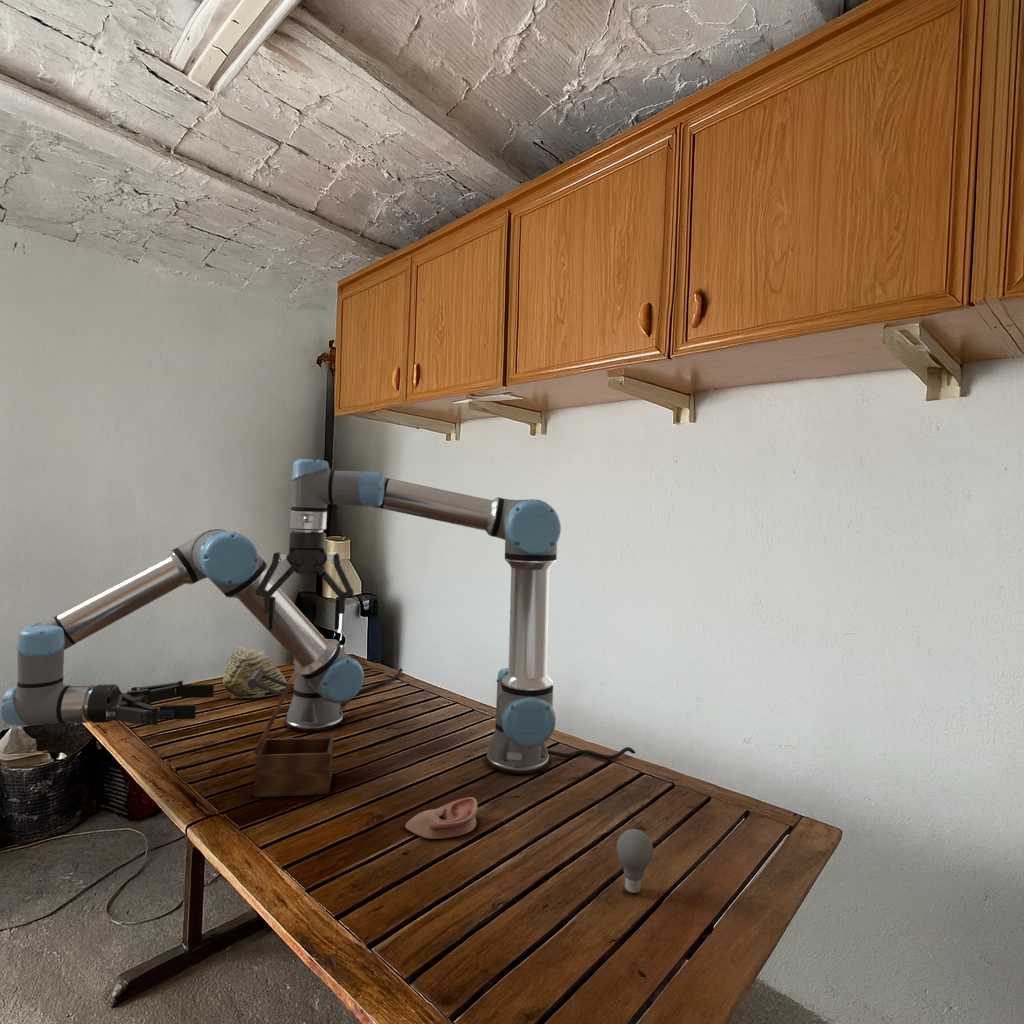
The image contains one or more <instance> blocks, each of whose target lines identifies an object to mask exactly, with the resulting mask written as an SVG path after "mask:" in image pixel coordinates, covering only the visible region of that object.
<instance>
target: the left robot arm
mask: <svg viewBox="0 0 1024 1024" xmlns="http://www.w3.org/2000/svg"><path fill="white" fill-rule="evenodd" d="M268 568H269V567H268V564H267V562H266V561H265V560H264V559H263V558H262V557H261V556H260V554H259V552H258V550H257V548H256V546H255V544H254V543H253V542H252V541H251V540H250V538H248V537H247V536H245V535H244V534H241V533H238V532H237V531H230V530H229V531H228V530H225V529H221V528H214V529H209V530H206V531H204V532H201V533H200V534H198V535H196V536H194V537H192V538H190V539H189V540H187V541H186V542H184V543H182V544H181V545H179V546H177V547H175V548H173V549H172V550H170V551H169V553H168V556H167V557H166V558H163V559H161V560H159V561H157V562H156V563H154V564H152V565H150V566H148V567H146V568H144V569H142V570H140V571H138V572H136V573H135V574H132V575H131V576H129V577H126V578H124V579H123V580H121V581H119V582H118V583H116V584H113V585H112V586H110V587H108V588H106V589H104V590H102V591H100V592H98V593H97V594H94V595H92V596H90V597H89V598H86V599H85V600H83V601H81V602H79V603H76V605H74V606H72V607H69V608H68V609H66V610H64V611H62V612H59V613H58V614H56V615H55V616H52V617H50V618H49V619H47V620H44V621H42V622H36V623H33V624H30V625H29V626H28V627H26V628H24V629H22V630H20V631H19V633H18V637H17V643H16V650H17V682H16V683H17V684H16V686H12V687H10V688H9V689H7V690H6V692H5V693H4V695H3V696H2V700H1V704H0V717H1V719H2V721H3V722H4V723H5V724H8V725H10V726H11V725H13V726H37V725H38V726H39V725H40V726H41V725H43V726H44V725H61V724H63V725H64V724H74V726H80V725H81V724H85V723H86V724H87V723H90V722H91V723H93V724H97V723H98V724H100V723H101V724H102V723H103V724H104V723H111V722H113V721H118V722H124V723H125V722H126V723H130V724H131V723H132V724H137V725H145V726H149V725H151V726H157V725H158V724H159V721H170V720H171V721H173V720H195V719H196V713H197V712H196V711H197V710H196V709H197V705H196V704H195V703H193V704H191V703H190V704H162V705H161V704H160V705H159V707H158V706H155V705H151V704H152V703H156V702H161V701H165V700H170V699H175V698H179V697H180V699H196V698H197V699H198V698H199V699H200V698H214V694H215V689H214V688H215V684H214V683H206V684H205V683H204V684H199V683H198V684H184V681H183V680H178V681H177V682H176V681H175V682H168V683H162V684H161V683H160V684H155V685H147V686H133V687H131V688H130V690H127V691H126V692H122V691H121V689H120V687H119V685H117V684H115V683H114V684H113V683H112V684H97V685H95V684H71V685H70V684H69V685H65V684H64V663H65V651H66V650H67V649H69V648H71V647H72V646H74V645H76V644H77V643H79V642H81V641H83V640H85V639H87V638H88V637H90V636H92V635H94V634H95V633H97V632H99V631H102V630H104V629H105V628H107V627H108V626H110V625H112V624H114V623H116V622H118V621H120V620H121V619H123V618H125V617H127V616H129V615H131V614H132V613H134V612H136V611H138V610H140V609H141V608H143V607H145V606H147V605H149V604H151V603H153V602H154V601H156V600H158V599H160V598H162V597H164V596H166V595H167V594H169V593H171V592H173V591H174V590H176V589H179V588H180V587H182V586H183V585H194V584H196V583H198V582H199V581H201V580H205V579H207V578H208V579H209V581H211V582H212V584H214V585H215V587H217V589H219V591H220V592H221V593H222V594H223V595H224V596H225V597H226V598H232V599H237V600H238V601H239V602H240V603H241V604H242V605H243V606H244V607H245V608H246V609H247V610H248V611H249V613H251V614H252V616H254V618H255V619H257V621H258V622H259V623H260V624H261V625H262V626H263V627H264V628H265V629H266V631H268V633H270V635H271V636H272V637H273V638H274V639H275V640H276V642H278V643H279V644H280V646H282V647H283V649H284V650H286V652H288V654H290V655H291V657H292V659H294V671H297V672H298V674H297V676H296V678H295V680H294V682H293V695H292V696H293V697H292V699H291V702H290V704H289V708H288V711H287V713H286V714H285V726H286V728H287V729H289V730H291V731H294V732H295V731H296V732H301V733H316V732H325V731H329V730H332V729H335V728H337V727H339V726H340V725H342V723H343V722H344V713H343V709H342V706H343V705H344V703H347V702H349V701H350V700H352V699H353V698H355V697H356V696H357V695H358V694H360V693H363V692H365V691H368V690H371V689H374V688H377V687H379V686H383V685H384V684H387V683H389V682H392V681H393V680H395V679H396V678H398V677H399V676H400V675H401V673H402V672H403V668H402V667H400V668H399V669H398V672H397V674H395V675H393V676H392V677H390V678H387V679H385V680H383V681H381V682H377V683H375V684H372V685H369V686H366V687H363V684H364V680H365V679H364V678H365V673H364V669H363V667H362V665H361V664H360V663H359V661H358V660H357V659H354V658H352V657H351V656H350V655H349V654H348V653H347V652H346V651H345V650H344V649H343V648H342V647H341V645H340V642H339V640H337V639H334V638H325V637H324V635H322V633H321V632H319V630H318V628H316V627H315V625H314V624H312V622H311V621H310V620H309V619H308V617H306V615H304V613H302V611H301V610H300V609H299V608H298V606H296V604H294V602H293V601H292V600H291V599H290V598H289V597H288V596H287V594H286V593H285V592H284V591H283V590H282V589H281V587H279V588H278V589H277V590H276V592H275V593H274V594H273V595H272V597H276V599H275V626H274V628H273V629H269V613H265V612H264V597H262V596H259V595H256V593H255V592H256V590H257V588H258V587H259V585H260V583H261V581H262V580H263V578H264V576H265V574H266V573H267V571H268ZM275 583H276V582H275V581H274V580H273V579H272V578H271V579H270V581H269V583H268V585H267V586H266V588H265V590H266V591H268V590H269V589H270V588H271V587H272V586H273V585H274V584H275ZM294 671H293V672H294ZM362 687H363V688H362Z"/></svg>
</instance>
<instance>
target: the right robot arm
mask: <svg viewBox="0 0 1024 1024" xmlns="http://www.w3.org/2000/svg"><path fill="white" fill-rule="evenodd" d="M329 465H330V464H329V462H328V461H327V460H320V459H309V458H307V459H305V458H304V459H303V458H301V459H296V460H295V461H294V462H293V464H292V474H291V479H290V482H291V483H290V484H291V485H290V486H291V489H290V490H291V492H290V493H291V494H290V498H291V499H290V517H289V518H290V520H289V529H291V530H292V531H290V532H289V541H288V542H289V543H288V545H289V546H288V552H287V553H281V552H280V551H276V552H274V553H273V555H272V561H271V563H270V565H269V567H268V568H267V573H266V574H265V576H264V578H263V580H262V581H261V583H260V585H259V587H258V588H257V590H256V592H255V593H256V595H259V596H262V597H264V612H265V613H269V629H273V628H274V626H275V599H276V597H272V595H273V594H274V593H275V592H276V590H277V589H278V588H281V586H283V584H284V583H285V582H286V581H287V580H288V579H289V578H290V577H291V576H292V575H293V574H294V572H295V573H296V574H299V575H304V574H307V575H315V574H318V575H319V576H320V577H321V578H322V579H323V580H324V582H326V583H327V586H328V587H329V588H330V589H331V590H332V592H334V594H335V595H336V596H337V597H336V599H335V607H334V608H335V609H334V631H335V630H337V631H338V630H339V629H340V615H342V614H344V613H345V611H346V600H347V599H348V598H352V597H353V596H354V594H355V591H354V588H353V587H352V584H351V582H350V579H349V578H348V576H347V574H346V571H345V569H344V568H343V565H342V563H341V554H340V553H338V552H337V553H335V554H327V550H326V546H327V545H326V544H327V534H326V532H324V531H325V530H327V522H328V520H327V519H328V505H333V506H334V505H339V506H355V507H357V506H358V507H367V508H368V507H370V508H371V507H372V508H375V509H376V508H377V509H381V510H387V511H392V512H396V513H399V514H400V513H401V514H405V515H410V516H415V517H420V518H424V519H428V520H434V521H436V522H437V521H438V522H443V523H446V524H451V525H456V526H462V527H466V528H471V529H475V530H480V531H485V532H486V534H487V535H488V536H489V537H493V538H496V539H501V540H504V561H505V562H506V563H507V564H508V565H509V566H510V596H509V597H510V598H509V600H510V601H509V603H510V604H509V635H508V636H509V637H508V638H509V639H508V640H509V641H508V642H509V643H508V667H503V668H501V669H499V670H498V672H497V679H496V702H495V703H496V707H495V726H494V727H495V728H494V732H493V735H492V738H491V740H490V743H489V744H488V745H489V746H488V748H487V751H486V764H487V765H488V766H489V767H490V768H492V769H494V770H495V771H498V772H500V773H505V774H510V775H529V774H530V775H531V774H536V773H540V772H542V771H544V770H546V769H547V767H548V766H549V759H550V757H549V756H556V757H561V758H573V757H575V756H579V755H590V756H593V757H597V758H599V759H603V760H614V759H618V758H619V757H621V756H622V755H624V754H625V753H627V752H629V753H631V754H636V751H635V749H633V748H631V747H629V746H626V747H623V748H622V749H621V750H619V751H618V752H616V753H614V754H611V755H610V754H603V753H599V752H597V751H593V750H589V749H578V750H577V749H576V750H574V751H572V752H567V753H565V752H561V751H556V750H549V749H548V748H547V744H546V742H547V741H548V740H549V739H550V738H551V736H552V735H553V734H554V731H555V729H556V721H557V716H556V712H555V709H554V681H553V679H552V678H551V677H550V676H549V675H548V643H549V638H548V636H549V606H550V605H549V603H550V601H549V600H550V569H551V567H552V566H553V565H554V564H555V563H557V558H558V557H557V554H558V542H559V540H560V537H561V532H562V525H561V520H560V517H559V515H558V513H557V511H556V510H555V509H554V508H553V506H551V505H550V504H549V503H548V502H546V501H543V500H541V499H535V498H531V499H509V498H503V497H499V496H497V497H495V498H494V499H488V498H483V497H478V496H475V495H474V496H473V495H469V494H464V493H459V492H456V491H450V490H446V489H441V488H437V487H432V486H427V485H422V484H418V483H413V482H408V481H405V480H404V481H403V480H399V479H395V478H388V477H385V476H384V475H383V473H381V472H376V471H370V470H366V471H365V470H363V471H362V470H361V471H360V470H335V469H330V466H329ZM285 560H286V561H287V562H288V565H290V567H289V568H288V569H286V571H285V572H284V573H283V574H282V575H281V576H280V577H279V578H278V580H277V581H276V582H275V584H274V585H273V586H272V587H271V588H270V589H269V590H268V591H266V590H265V588H266V586H267V585H268V583H269V581H270V579H272V578H273V576H274V574H275V572H276V571H277V569H278V567H279V565H280V564H282V563H284V561H285ZM327 561H329V562H330V564H331V565H333V566H334V569H335V571H336V573H337V576H338V577H339V579H340V581H341V583H342V585H343V588H344V589H345V591H344V589H342V588H341V586H340V585H339V584H338V583H337V581H335V580H334V578H333V577H332V576H331V575H330V573H329V572H328V570H327V569H326V568H325V566H324V565H325V563H326V562H327Z"/></svg>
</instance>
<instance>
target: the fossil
mask: <svg viewBox="0 0 1024 1024" xmlns="http://www.w3.org/2000/svg"><path fill="white" fill-rule="evenodd" d="M258 669H262V670H264V672H265V674H266V675H268V676H271V677H273V678H276V679H278V680H281V681H283V682H286V683H287V680H286V678H285V676H284V674H283V673H282V672H281V669H279V668H278V667H277V665H276V663H275V662H274V660H273V659H272V658H271V657H270V656H269V655H268V654H267V653H266V652H265V650H264V649H263V648H260V647H258V648H251V647H247V646H246V647H245V646H238V647H237V648H236V649H235V650H233V651H232V653H231V656H230V657H229V659H228V660H227V663H226V666H225V668H224V671H223V675H222V676H223V677H222V685H223V687H224V688H225V690H226V691H228V693H229V698H230V699H250V698H264V697H271V696H275V695H277V694H274V693H272V692H269V691H267V690H264V689H262V688H259V687H256V688H250V687H249V686H248V681H249V680H250V678H251V677H252V676H253V674H254V673H255V672H256V670H258ZM260 683H261V684H263V685H266V686H268V687H270V688H273V689H275V690H278V691H280V692H284V690H285V688H286V687H285V686H282V685H280V684H277V683H275V682H272V681H270V680H267V679H265V678H262V680H261V681H260Z"/></svg>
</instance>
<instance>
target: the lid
mask: <svg viewBox="0 0 1024 1024" xmlns="http://www.w3.org/2000/svg"><path fill="white" fill-rule="evenodd" d="M297 674H298V672H297V671H293V673H292V675H291V677H290V679H289V680H288V682H287V681H286V682H283V681H281V680H278V679H276V678H273V677H271V676H268V675H266V674H265V672H264V670H262V669H258V670H256V672H255V673H254V674H253V676H252V677H251V678H250V680H249V681H248V686H249V687H250V688H256V687H259V688H262V689H264V690H267V691H269V692H272V693H274V694H276V695H277V696H279V697H280V699H279V701H278V703H277V705H276V707H275V709H274V711H273V712H272V715H271V716H270V719H269V721H268V723H267V725H266V727H265V729H264V731H263V733H262V735H261V737H260V739H259V741H258V743H257V745H256V747H255V749H254V751H253V754H255V755H256V754H258V752H259V750H260V748H261V746H262V744H263V742H264V740H265V739H267V737H268V734H269V732H270V730H271V728H272V726H273V724H274V722H275V720H276V719H277V716H278V714H279V712H280V710H281V708H282V706H283V703H284V702H285V700H286V697H287V696H288V693H289V692H290V690H291V688H292V686H293V685H294V680H295V678H296V676H297ZM262 678H265V679H267V680H270V681H272V682H275V683H277V684H280V685H282V686H285V687H286V688H285V690H284V692H280V691H278V690H275V689H273V688H270V687H268V686H266V685H263V684H261V683H260V681H261V680H262Z"/></svg>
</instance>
